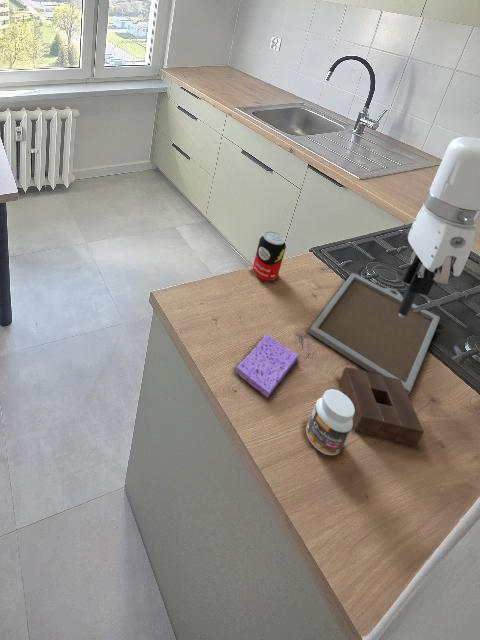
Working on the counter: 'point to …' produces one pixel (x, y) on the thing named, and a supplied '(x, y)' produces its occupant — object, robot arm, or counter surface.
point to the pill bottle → (330, 422)
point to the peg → (408, 299)
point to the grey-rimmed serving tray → (376, 330)
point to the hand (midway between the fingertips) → (414, 287)
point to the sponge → (266, 365)
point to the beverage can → (269, 255)
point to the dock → (381, 406)
